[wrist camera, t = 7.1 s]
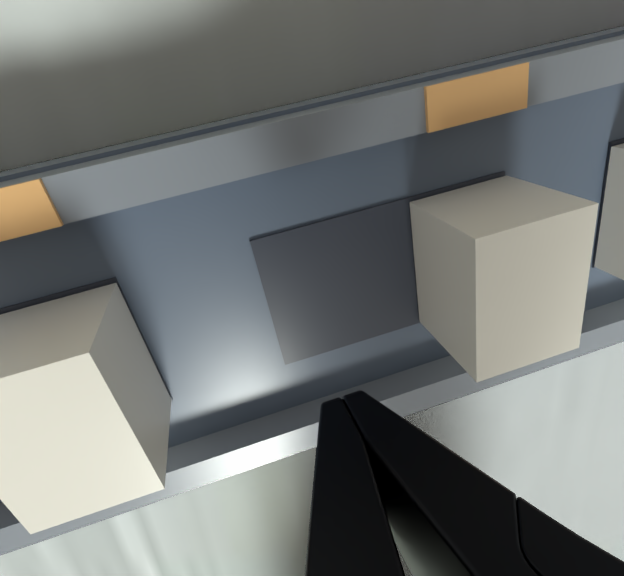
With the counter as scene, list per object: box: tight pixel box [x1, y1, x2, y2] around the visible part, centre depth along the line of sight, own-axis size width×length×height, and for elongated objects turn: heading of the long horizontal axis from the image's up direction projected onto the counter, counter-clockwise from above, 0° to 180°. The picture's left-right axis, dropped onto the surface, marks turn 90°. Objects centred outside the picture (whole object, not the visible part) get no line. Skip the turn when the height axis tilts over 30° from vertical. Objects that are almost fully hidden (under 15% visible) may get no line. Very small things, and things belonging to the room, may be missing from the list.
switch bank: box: [0, 26, 624, 555], centre depth 13 cm, size 10×32×2 cm, turn 101°
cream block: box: [0, 283, 171, 534], centre depth 10 cm, size 4×3×3 cm
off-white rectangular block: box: [409, 175, 599, 382], centre depth 11 cm, size 4×3×3 cm
